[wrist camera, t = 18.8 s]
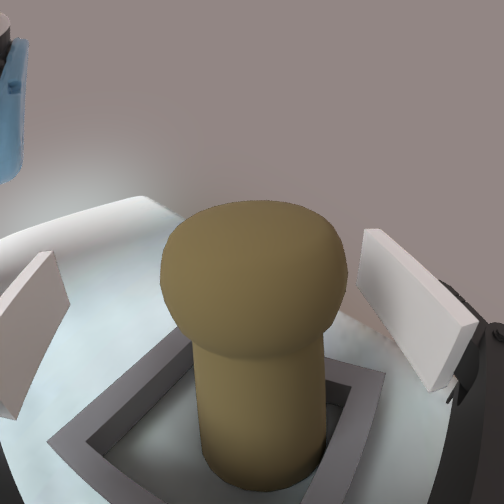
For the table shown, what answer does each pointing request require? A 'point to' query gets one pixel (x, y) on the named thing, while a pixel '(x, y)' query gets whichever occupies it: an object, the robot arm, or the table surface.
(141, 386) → the gray square frame
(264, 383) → the cork
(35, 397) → the table surface
